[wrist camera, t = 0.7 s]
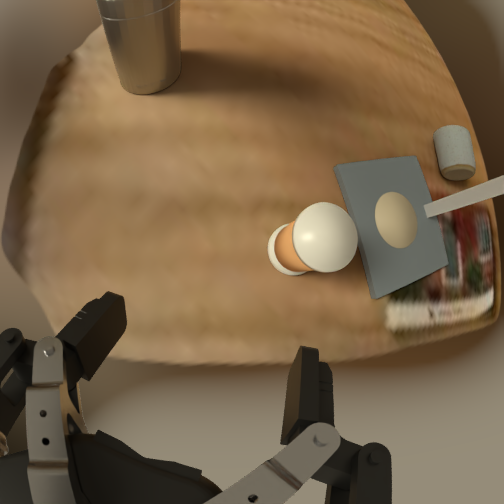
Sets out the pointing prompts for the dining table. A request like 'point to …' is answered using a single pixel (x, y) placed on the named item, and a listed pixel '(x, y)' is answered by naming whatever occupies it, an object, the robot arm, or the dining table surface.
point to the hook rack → (400, 219)
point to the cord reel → (314, 241)
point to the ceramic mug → (454, 152)
